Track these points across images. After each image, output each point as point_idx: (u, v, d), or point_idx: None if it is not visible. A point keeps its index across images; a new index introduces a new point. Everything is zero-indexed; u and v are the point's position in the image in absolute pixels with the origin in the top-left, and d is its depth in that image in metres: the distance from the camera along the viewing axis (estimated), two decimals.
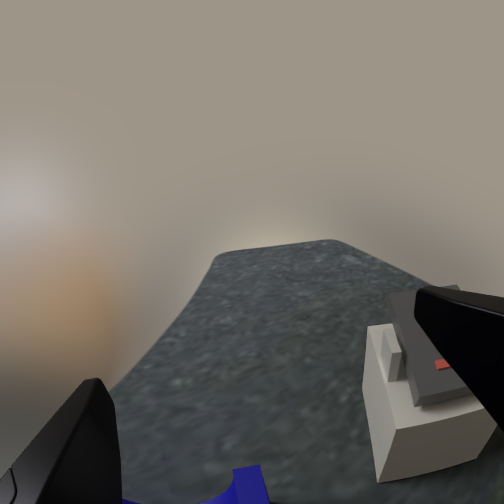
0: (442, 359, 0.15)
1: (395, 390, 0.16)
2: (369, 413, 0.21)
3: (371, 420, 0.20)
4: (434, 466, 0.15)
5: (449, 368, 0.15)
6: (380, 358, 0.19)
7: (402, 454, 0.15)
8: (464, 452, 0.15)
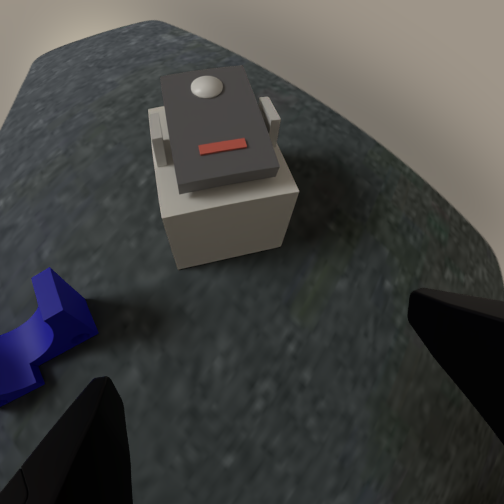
0: (207, 144, 0.17)
1: (164, 175, 0.18)
2: None
3: None
4: (231, 252, 0.23)
5: (215, 154, 0.17)
6: None
7: (185, 241, 0.20)
8: (261, 240, 0.23)
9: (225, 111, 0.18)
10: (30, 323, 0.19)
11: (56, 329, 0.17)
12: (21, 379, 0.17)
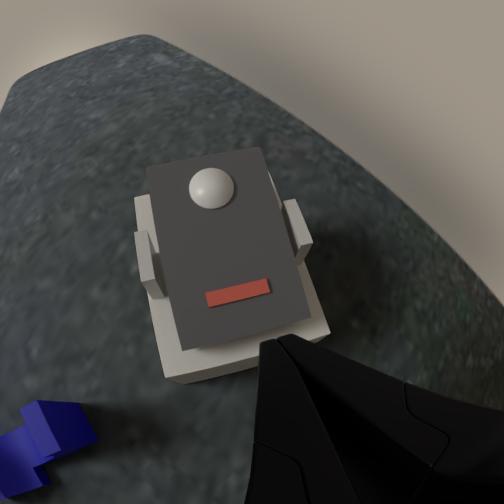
0: (216, 290, 0.13)
1: (163, 314, 0.15)
2: None
3: None
4: (244, 368, 0.20)
5: (228, 304, 0.13)
6: None
7: (192, 377, 0.16)
8: None
9: (239, 231, 0.14)
10: (26, 429, 0.15)
11: (56, 454, 0.13)
12: (27, 482, 0.13)
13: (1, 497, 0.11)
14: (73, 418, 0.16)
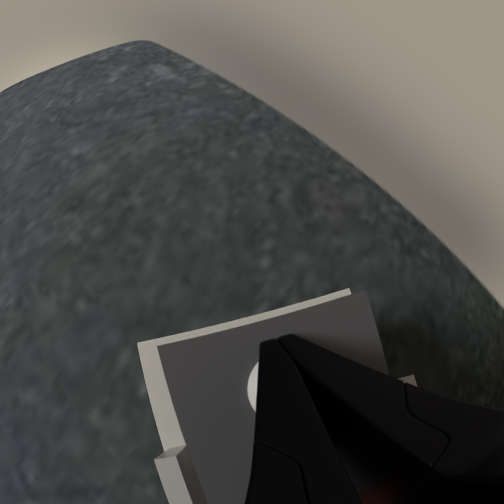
0: None
1: None
2: None
3: None
4: None
5: None
6: None
7: None
8: None
9: None
10: None
11: None
12: None
13: None
14: None
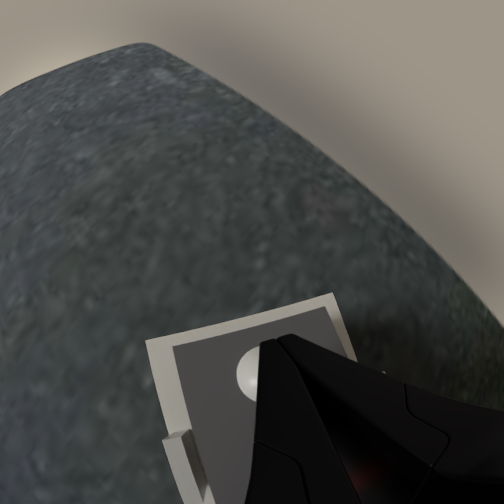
0: None
1: (207, 502, 0.09)
2: None
3: None
4: None
5: None
6: None
7: None
8: None
9: None
10: None
11: None
12: None
13: None
14: None
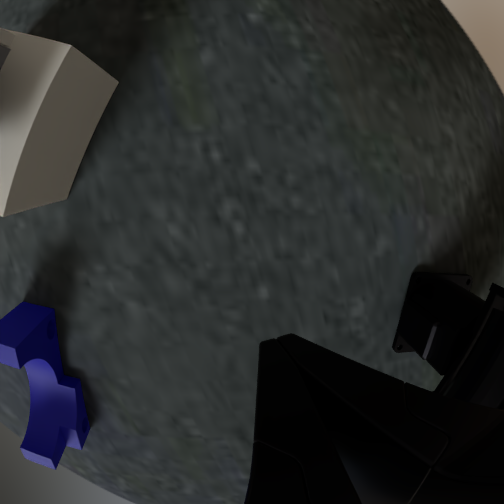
0: None
1: None
2: None
3: None
4: (85, 137, 0.16)
5: None
6: None
7: (41, 189, 0.14)
8: (94, 102, 0.15)
9: None
10: (26, 363, 0.19)
11: (32, 355, 0.16)
12: (69, 398, 0.20)
13: (75, 433, 0.19)
14: (20, 316, 0.17)
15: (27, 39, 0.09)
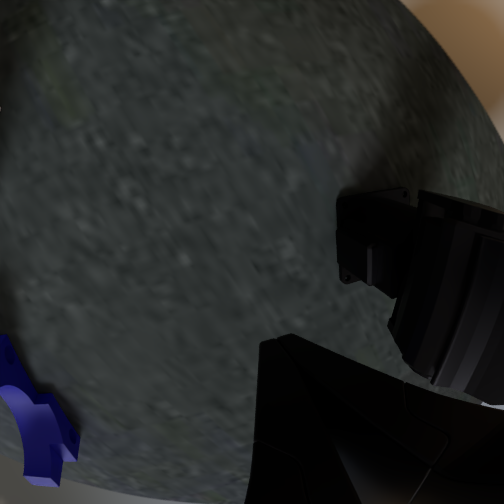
0: None
1: None
2: None
3: None
4: None
5: None
6: None
7: None
8: None
9: None
10: (2, 394, 0.18)
11: None
12: (47, 415, 0.19)
13: (64, 446, 0.19)
14: None
15: None
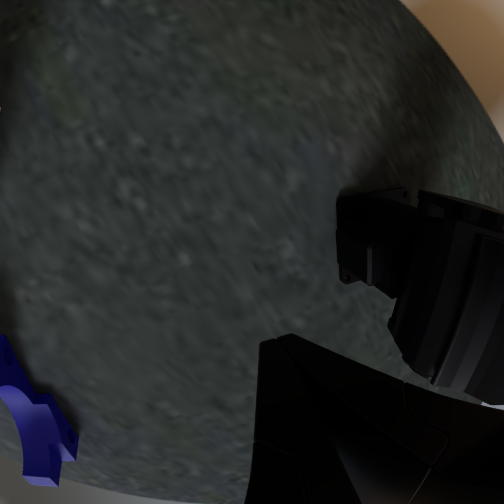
0: None
1: None
2: None
3: None
4: None
5: None
6: None
7: None
8: None
9: None
10: (1, 394, 0.18)
11: None
12: (46, 415, 0.19)
13: (62, 446, 0.19)
14: None
15: None
